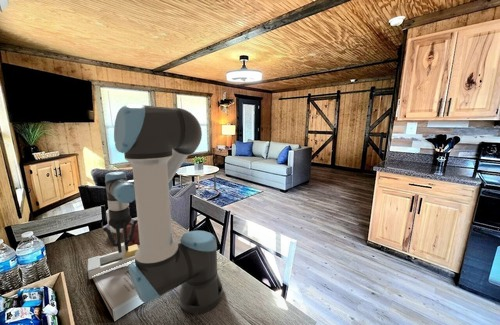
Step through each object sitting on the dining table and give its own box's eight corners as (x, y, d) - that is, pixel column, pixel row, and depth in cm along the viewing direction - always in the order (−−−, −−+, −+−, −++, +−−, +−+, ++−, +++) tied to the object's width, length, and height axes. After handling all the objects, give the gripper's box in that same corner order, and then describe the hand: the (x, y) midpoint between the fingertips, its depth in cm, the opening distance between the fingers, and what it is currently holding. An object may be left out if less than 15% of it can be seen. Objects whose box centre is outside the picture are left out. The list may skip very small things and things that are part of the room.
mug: (135, 233, 118) (133, 211, 116) (112, 240, 110) (109, 217, 108) (127, 224, 128) (125, 204, 126) (106, 230, 121) (104, 209, 119)
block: (139, 259, 95) (138, 248, 94) (126, 263, 92) (125, 252, 91) (137, 253, 99) (136, 244, 98) (125, 257, 96) (124, 247, 95)
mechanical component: (131, 238, 113) (149, 239, 112) (118, 248, 103) (137, 249, 102) (129, 216, 111) (147, 217, 110) (115, 225, 101) (135, 226, 100)
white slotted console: (147, 259, 94) (146, 251, 94) (89, 279, 82) (87, 270, 81) (142, 249, 102) (142, 242, 101) (89, 266, 89) (87, 258, 89)
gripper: (134, 202, 96) (138, 249, 100) (100, 208, 88) (105, 259, 92) (137, 206, 90) (141, 256, 94) (100, 214, 82) (107, 268, 86)
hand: (124, 257), depth 93 cm, fingers closed
